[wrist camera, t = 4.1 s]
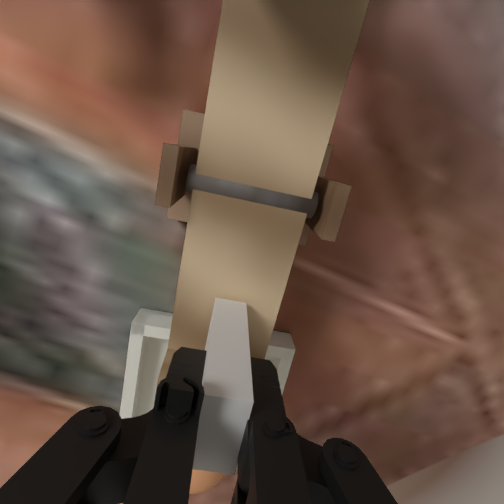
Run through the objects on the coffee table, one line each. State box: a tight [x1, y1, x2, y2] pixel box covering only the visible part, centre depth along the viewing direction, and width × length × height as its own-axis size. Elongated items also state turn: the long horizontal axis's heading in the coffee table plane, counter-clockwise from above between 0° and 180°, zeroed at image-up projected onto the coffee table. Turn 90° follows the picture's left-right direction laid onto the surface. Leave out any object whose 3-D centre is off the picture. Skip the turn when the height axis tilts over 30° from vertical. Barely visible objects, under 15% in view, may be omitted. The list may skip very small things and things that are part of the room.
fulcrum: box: [155, 109, 352, 246], centre depth 17 cm, size 6×8×7 cm
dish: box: [120, 308, 295, 419], centre depth 23 cm, size 10×11×2 cm
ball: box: [189, 469, 225, 494], centre depth 17 cm, size 4×4×4 cm
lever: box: [157, 0, 370, 386], centre depth 12 cm, size 26×6×5 cm, turn 167°
